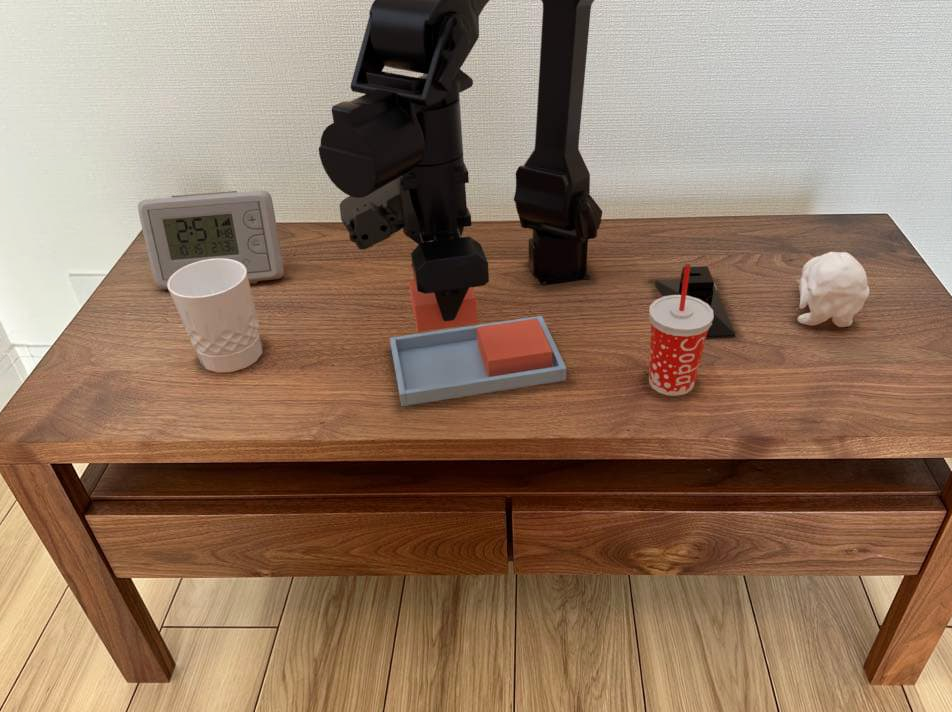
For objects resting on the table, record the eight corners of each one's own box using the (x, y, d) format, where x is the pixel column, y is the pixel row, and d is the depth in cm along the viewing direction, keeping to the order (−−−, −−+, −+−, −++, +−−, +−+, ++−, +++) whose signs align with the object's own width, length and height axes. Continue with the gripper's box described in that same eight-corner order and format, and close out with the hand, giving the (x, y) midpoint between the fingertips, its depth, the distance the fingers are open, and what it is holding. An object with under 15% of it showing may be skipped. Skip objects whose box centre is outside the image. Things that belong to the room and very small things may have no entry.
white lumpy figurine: (817, 265, 79) (797, 223, 89) (800, 337, 84) (783, 289, 94) (880, 268, 78) (853, 225, 88) (860, 340, 83) (836, 292, 93)
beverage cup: (646, 405, 76) (661, 283, 67) (636, 368, 81) (648, 250, 72) (707, 402, 76) (729, 281, 67) (693, 365, 81) (713, 247, 72)
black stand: (654, 282, 94) (658, 249, 91) (713, 281, 94) (718, 247, 91) (672, 339, 85) (677, 303, 82) (738, 337, 85) (745, 301, 82)
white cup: (248, 380, 81) (223, 300, 74) (181, 373, 82) (151, 293, 76) (280, 338, 87) (259, 261, 80) (217, 332, 88) (192, 255, 82)
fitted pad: (537, 336, 85) (537, 318, 83) (552, 370, 80) (552, 351, 78) (477, 345, 84) (476, 327, 82) (489, 380, 79) (488, 361, 77)
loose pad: (469, 297, 79) (467, 272, 77) (478, 323, 75) (476, 297, 73) (411, 305, 78) (408, 280, 76) (418, 332, 74) (414, 306, 72)
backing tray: (541, 330, 87) (541, 315, 85) (566, 383, 79) (566, 368, 78) (391, 352, 84) (389, 337, 83) (402, 409, 76) (399, 394, 75)
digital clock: (150, 293, 95) (120, 215, 88) (179, 258, 102) (153, 182, 95) (276, 295, 94) (256, 215, 87) (296, 259, 101) (279, 183, 94)
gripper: (332, 125, 72) (357, 270, 82) (342, 210, 58) (371, 372, 68) (448, 114, 73) (459, 257, 83) (485, 193, 59) (493, 354, 69)
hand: (444, 305), depth 76 cm, fingers closed on loose pad, 5 cm apart
